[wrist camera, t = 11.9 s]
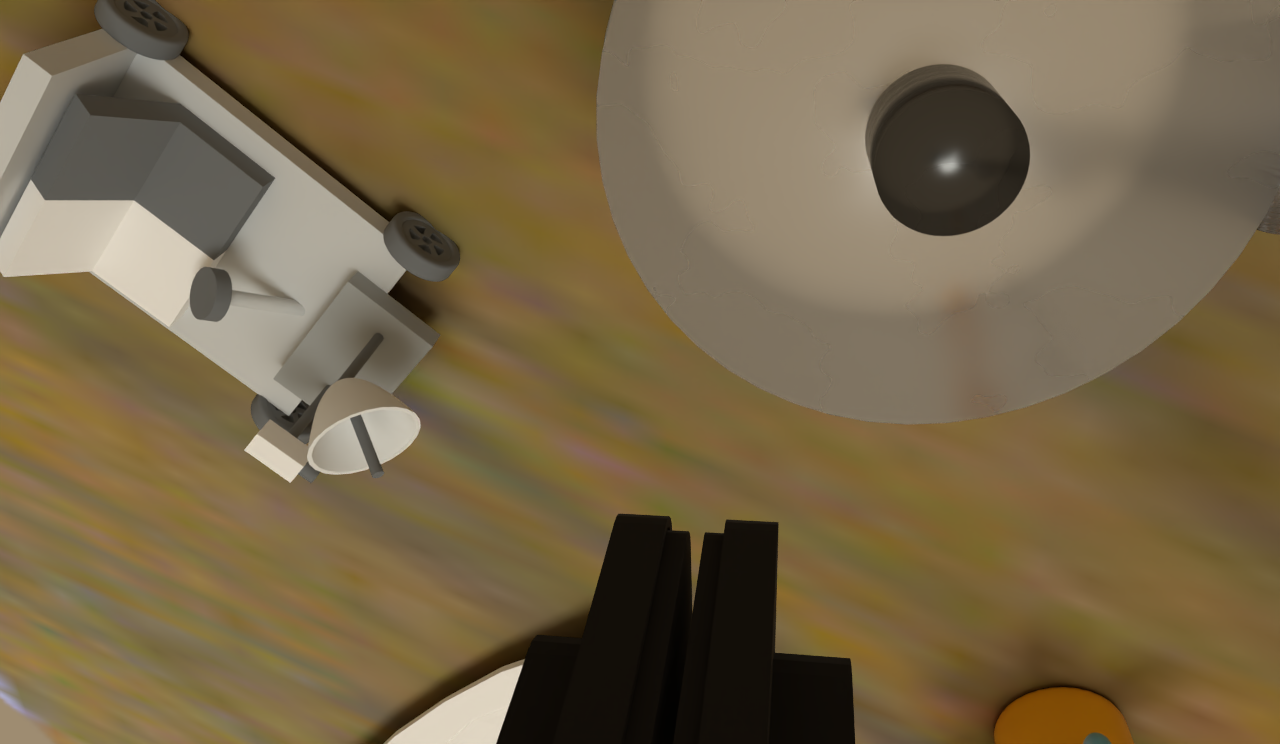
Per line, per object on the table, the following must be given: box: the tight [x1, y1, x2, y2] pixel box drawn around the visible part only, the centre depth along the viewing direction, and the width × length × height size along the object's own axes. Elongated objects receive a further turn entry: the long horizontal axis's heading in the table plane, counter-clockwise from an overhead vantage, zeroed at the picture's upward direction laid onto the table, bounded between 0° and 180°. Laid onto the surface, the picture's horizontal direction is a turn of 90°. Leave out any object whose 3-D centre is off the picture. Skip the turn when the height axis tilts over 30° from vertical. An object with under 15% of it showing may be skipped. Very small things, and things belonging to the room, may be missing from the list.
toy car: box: [0, 0, 460, 483], centre depth 37 cm, size 18×10×12 cm
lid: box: [597, 0, 1280, 424], centre depth 23 cm, size 17×16×4 cm
